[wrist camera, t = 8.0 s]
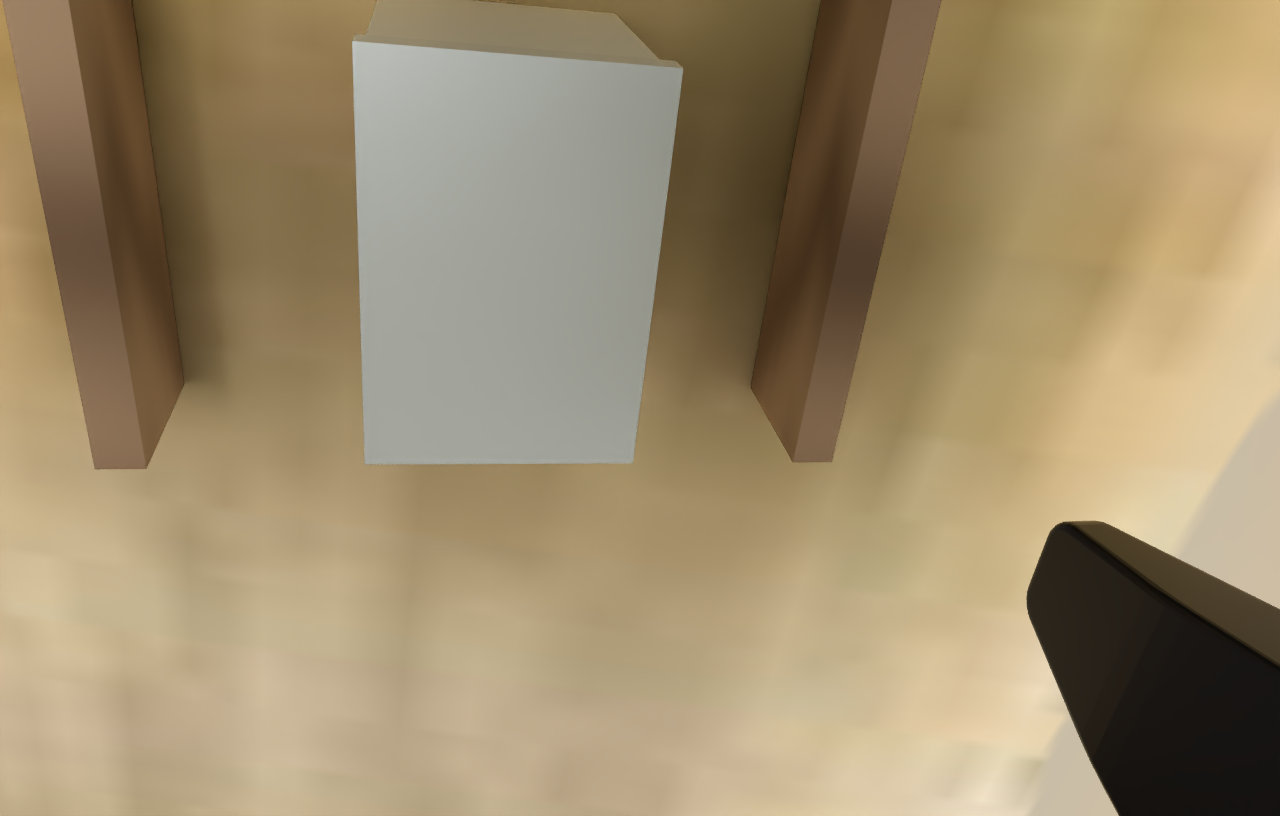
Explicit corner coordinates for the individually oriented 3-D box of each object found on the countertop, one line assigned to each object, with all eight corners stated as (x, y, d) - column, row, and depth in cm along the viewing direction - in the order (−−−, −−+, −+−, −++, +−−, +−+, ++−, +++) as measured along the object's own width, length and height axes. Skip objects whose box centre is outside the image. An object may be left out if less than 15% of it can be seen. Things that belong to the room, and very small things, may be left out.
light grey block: (590, 327, 20) (632, 462, 16) (379, 321, 20) (364, 464, 15) (620, 7, 17) (683, 68, 13) (374, -16, 16) (351, 40, 12)
